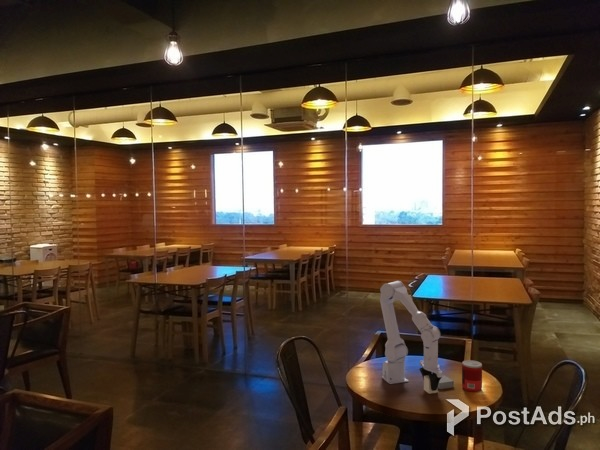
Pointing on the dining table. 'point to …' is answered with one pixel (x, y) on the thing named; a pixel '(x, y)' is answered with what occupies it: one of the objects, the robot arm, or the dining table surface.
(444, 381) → the grey square block
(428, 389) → the cream block
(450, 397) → the dining table surface
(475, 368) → the canned food
